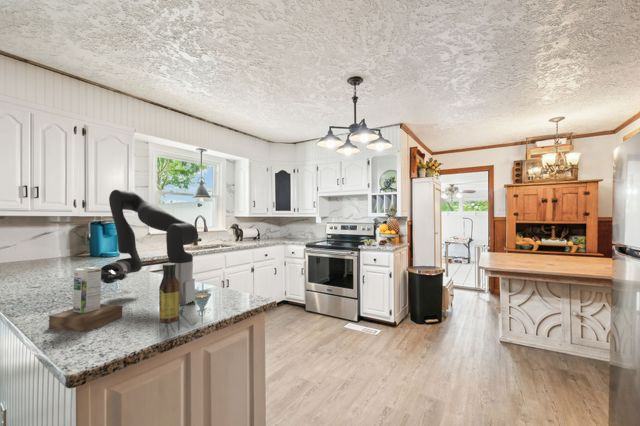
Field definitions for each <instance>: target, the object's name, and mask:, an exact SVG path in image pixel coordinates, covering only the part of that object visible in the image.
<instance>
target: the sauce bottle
mask: <svg viewBox="0 0 640 426" xmlns="http://www.w3.org/2000/svg"><path fill="white" fill-rule="evenodd" d="M175 268H176V264H175V263H169V262H167V263H163V264H162V269H163V270H162V272H163V275H162V279H161V282H160V285H159V286H158V287H159V288H158V291H159V292H158V294H159V296H158V298H159V299H158V304H159V305H158V306H159V309H158V310H159V311H158V313H159V315H158V317H159V321H160V322H161V323H173V322H175V321H177V320H179V318H180V305H179V282H178V280H177V279H176V277H175Z"/></svg>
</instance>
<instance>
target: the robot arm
mask: <svg viewBox="0 0 640 426" xmlns="http://www.w3.org/2000/svg"><path fill="white" fill-rule="evenodd" d="M108 201H109V202H108V203H109V207H110V208H109V209H110V211H111V215H112V220H113V222H114V223H113V224H114V226H115V232H116V241H117V250H118V253H119V254H127V255H129V256H130V257H127V258H119V259H116V260H115V261H114V262H112V263H108V264H105V265H103V266H102V267H100V268H101V283H104V284H113V283H115V282H117V281H123V280H125V279H126V278H127V277H128V275H129V274H131V273H138V272H140V271H141V270H142V267H143V263H142V259H141V257H140V256H139V253H138V249H137V245H136V243H137V241H136V234H135V232H134V230H133V228H132V227H131V225H130V224H129V223H128V220H126V217H125V214H124V210H125V211H126V210H127V211H132V212H135V213H137V217H138V220H139V221H140V222H141V223H143V224H145V225H146V226H147V227H149V228H151V229H155V230H158V231H162V232H165V233H166V235H165V238H166V255H167V258H168V263H175V264H176V268H175V277H176V279H177V280H178V282H179V306H187V305H188V303H189V304H191V303H193V302H195V299H196V298H195V297H196V296H195V292H196V291H195V287H196V286H195V285H196V283H195V278H193V276H194V275H193V271H194V270H193V267H194V266H193V265H194V262H193V261H194V258H193V257H194V255H193V254H192V253H189V252H186V251H185V247H184V246H188V245H189V246H190V245H192V244H194V243H195V242H196V241H197V240H198V238H199V231H198V230H197V228H196V226H195V225H193V224H191V223H189V222H187V221H184V220H182V219H180V218H178V217H175V216H174V215H172V214H170V213H169V212H167V211H165V210H163V209H162V208H160V207H159V206H157V205H155V204H153V203H151V202H149V201H148V200H145V199H144V198H143V197H142V196H140V195H139V194H137V193H136V192H134V191H131V190H123V189H113V190H112V191H111V193H109V198H108ZM192 301H193V302H192ZM190 302H191V303H190ZM186 304H187V305H186Z"/></svg>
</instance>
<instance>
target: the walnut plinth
mask: <svg viewBox="0 0 640 426" xmlns="http://www.w3.org/2000/svg"><path fill="white" fill-rule="evenodd" d="M120 318H123V305H120V304H119V305H117V304H101V303H100V309H98V310H95V311H91V312H87V313H83V314H82V313H78V312H73V308H71V309H67V310H64V311H61V312H57V313H54V314H51V315H49V316H48V329H51V328H52V329H53V330H61V331H62V330H63V331H75V332H76V331H77V332H87V331H90V330H92V329H96V328H98V327H100V326H103V325H105V324H108V323H110V322H113V321H115V320H118V319H120Z"/></svg>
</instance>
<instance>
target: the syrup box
mask: <svg viewBox="0 0 640 426" xmlns="http://www.w3.org/2000/svg"><path fill="white" fill-rule="evenodd" d="M101 268H102V267H92V266H85V267H79V268H74V269H73V287H72V288H73V291H72V292H73V294H72V295H73V296H72V309H73V312H78V313H82V314H83V313H87V312H91V311H95V310H98V309H100V304H101V296H102V295H101V292H102V291H101V289H102V287H101V286H102V281H101Z"/></svg>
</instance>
